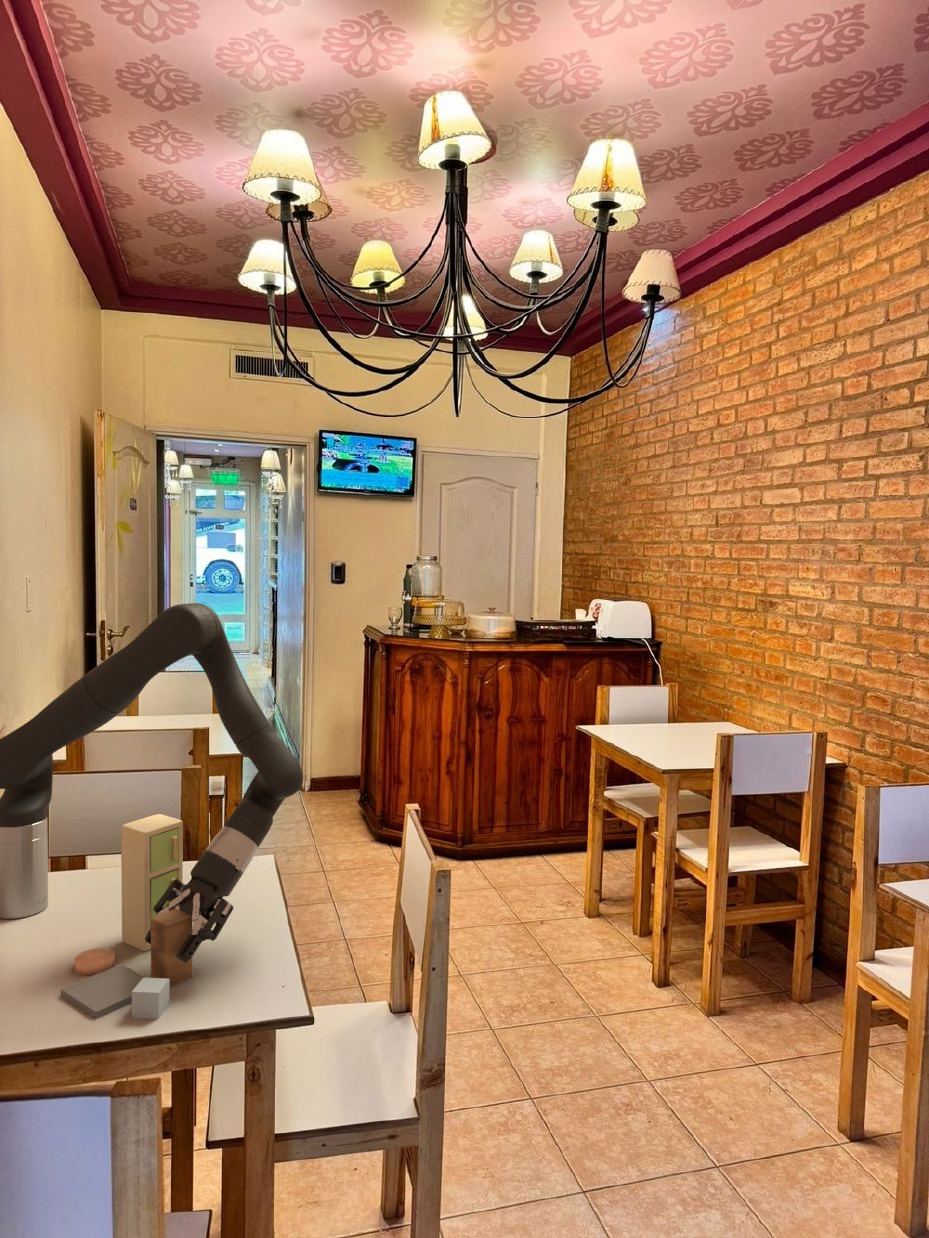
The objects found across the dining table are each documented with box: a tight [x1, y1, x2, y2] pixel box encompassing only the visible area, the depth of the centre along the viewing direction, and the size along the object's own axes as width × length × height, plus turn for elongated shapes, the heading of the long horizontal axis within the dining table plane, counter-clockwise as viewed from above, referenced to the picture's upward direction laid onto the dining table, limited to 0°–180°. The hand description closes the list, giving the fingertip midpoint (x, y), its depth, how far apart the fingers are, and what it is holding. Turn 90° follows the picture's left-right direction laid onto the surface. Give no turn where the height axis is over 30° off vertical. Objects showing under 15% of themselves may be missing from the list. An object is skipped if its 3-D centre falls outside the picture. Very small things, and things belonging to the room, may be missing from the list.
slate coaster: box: [60, 963, 147, 1019], centre depth 124 cm, size 10×10×1 cm
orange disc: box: [73, 947, 115, 976], centre depth 132 cm, size 6×6×2 cm
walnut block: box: [150, 909, 193, 987], centre depth 129 cm, size 4×4×10 cm
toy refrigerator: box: [120, 813, 184, 952], centre depth 141 cm, size 8×7×21 cm
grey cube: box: [131, 977, 171, 1019], centre depth 120 cm, size 4×4×4 cm
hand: (164, 951), depth 128 cm, fingers open, 8 cm apart
